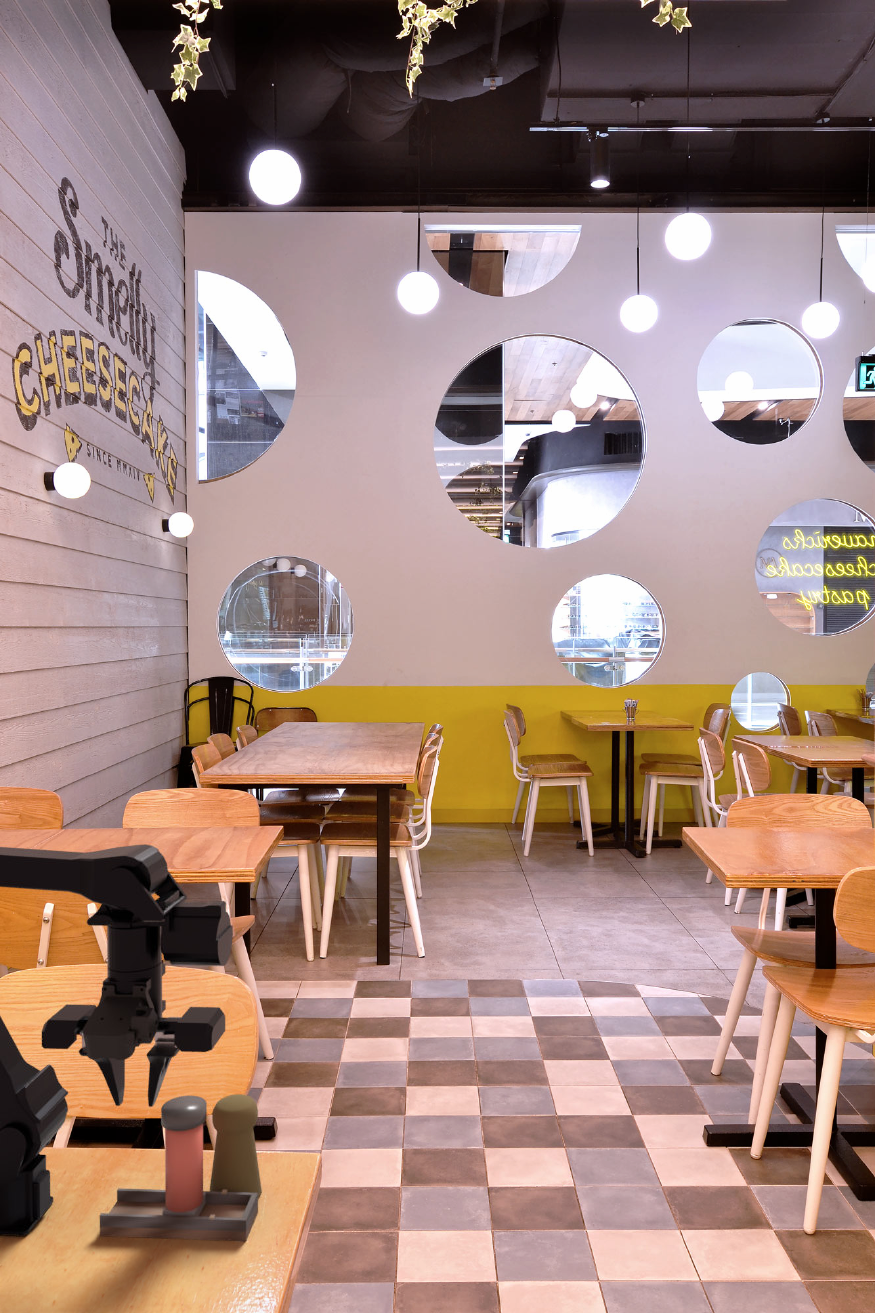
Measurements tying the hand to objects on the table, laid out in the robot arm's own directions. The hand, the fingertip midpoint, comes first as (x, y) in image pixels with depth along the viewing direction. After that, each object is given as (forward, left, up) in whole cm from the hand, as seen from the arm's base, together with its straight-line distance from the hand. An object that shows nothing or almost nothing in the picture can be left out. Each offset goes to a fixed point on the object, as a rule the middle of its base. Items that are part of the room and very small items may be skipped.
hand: (135, 1104), depth 102 cm
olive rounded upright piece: (+9, +6, -13) cm, 17 cm away
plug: (+5, 0, -12) cm, 13 cm away
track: (+5, 0, -13) cm, 14 cm away
